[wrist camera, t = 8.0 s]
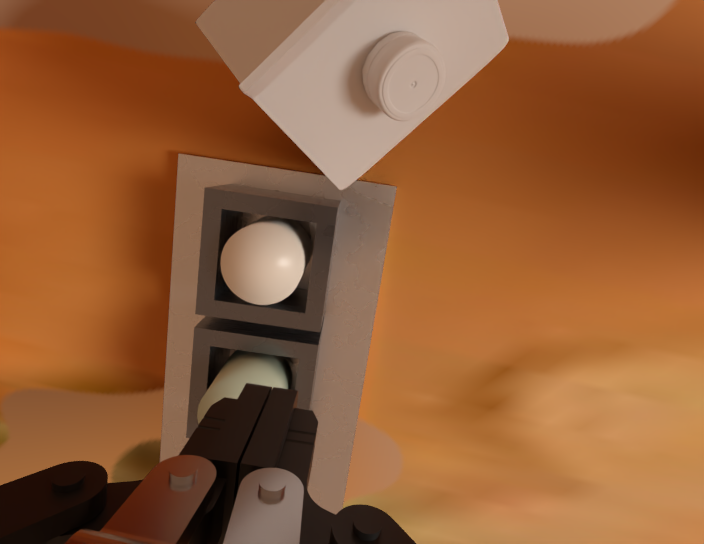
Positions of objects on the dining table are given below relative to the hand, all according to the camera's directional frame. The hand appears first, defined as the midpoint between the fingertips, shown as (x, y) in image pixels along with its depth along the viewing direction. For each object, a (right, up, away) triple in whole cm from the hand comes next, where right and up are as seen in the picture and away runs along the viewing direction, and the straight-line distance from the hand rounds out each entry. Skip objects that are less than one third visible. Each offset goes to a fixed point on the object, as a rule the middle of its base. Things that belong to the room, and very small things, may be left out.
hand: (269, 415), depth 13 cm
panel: (-4, -2, +20) cm, 20 cm away
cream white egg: (-2, +6, +16) cm, 17 cm away
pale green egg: (-4, -3, +16) cm, 17 cm away
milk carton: (+3, +15, +16) cm, 22 cm away
